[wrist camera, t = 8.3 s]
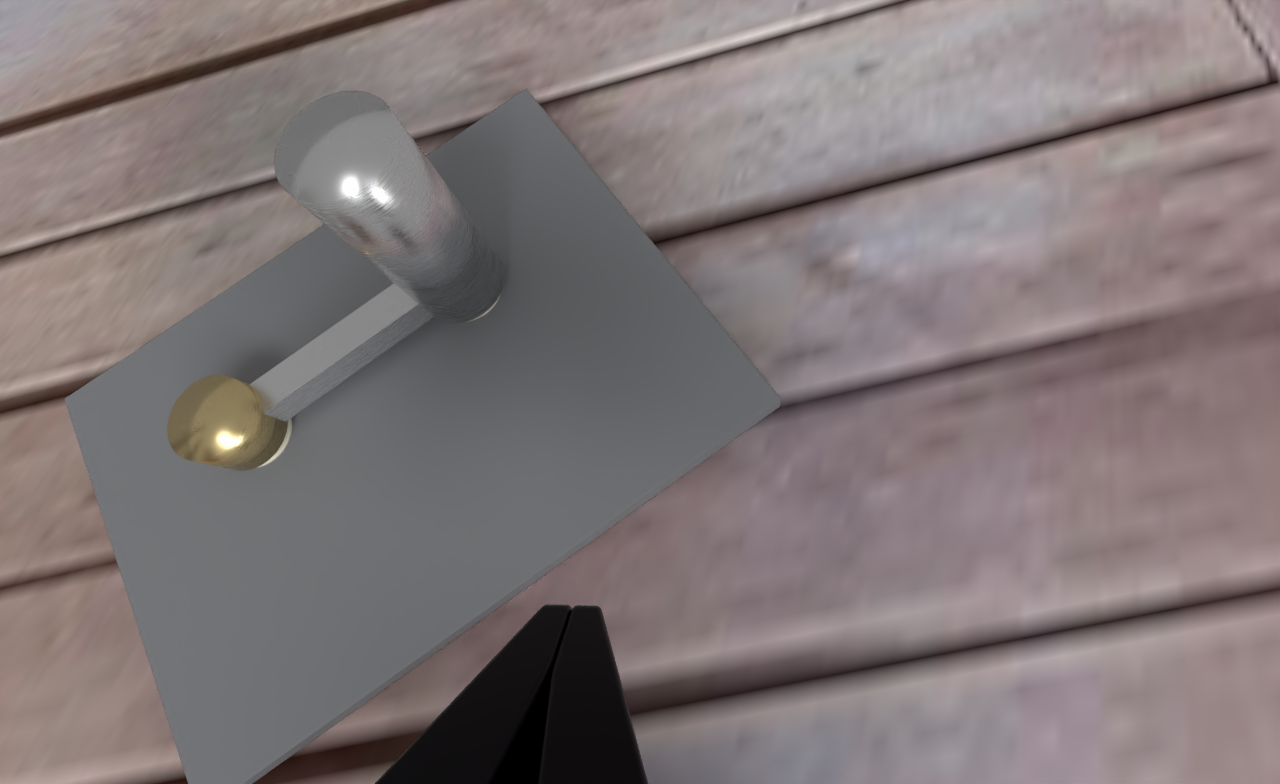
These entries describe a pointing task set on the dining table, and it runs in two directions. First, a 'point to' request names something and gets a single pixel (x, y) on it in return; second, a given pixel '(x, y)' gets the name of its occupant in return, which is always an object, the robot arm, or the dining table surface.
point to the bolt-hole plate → (403, 452)
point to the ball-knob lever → (380, 232)
